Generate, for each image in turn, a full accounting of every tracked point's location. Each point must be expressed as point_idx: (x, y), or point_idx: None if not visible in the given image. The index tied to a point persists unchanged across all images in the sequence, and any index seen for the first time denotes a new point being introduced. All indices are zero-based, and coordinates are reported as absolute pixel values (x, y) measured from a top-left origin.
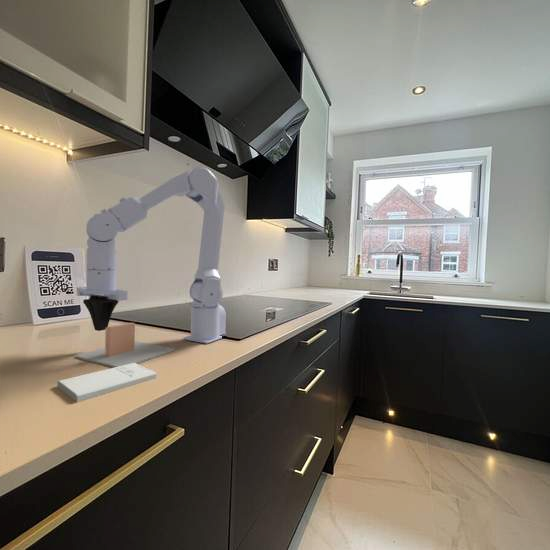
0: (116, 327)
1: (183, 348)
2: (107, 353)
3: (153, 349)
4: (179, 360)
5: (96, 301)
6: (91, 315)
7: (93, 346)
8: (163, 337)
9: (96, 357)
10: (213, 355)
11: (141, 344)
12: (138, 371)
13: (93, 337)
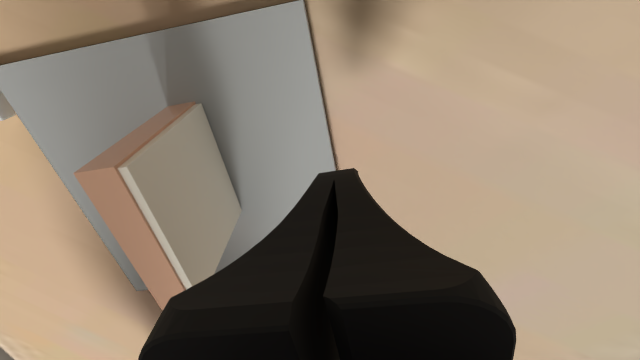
0: (99, 211)
1: (152, 310)
2: (178, 108)
3: None
4: (24, 241)
5: (157, 332)
6: (367, 212)
7: (426, 145)
8: None
9: (195, 62)
10: (31, 313)
11: None
12: None
13: (583, 213)
